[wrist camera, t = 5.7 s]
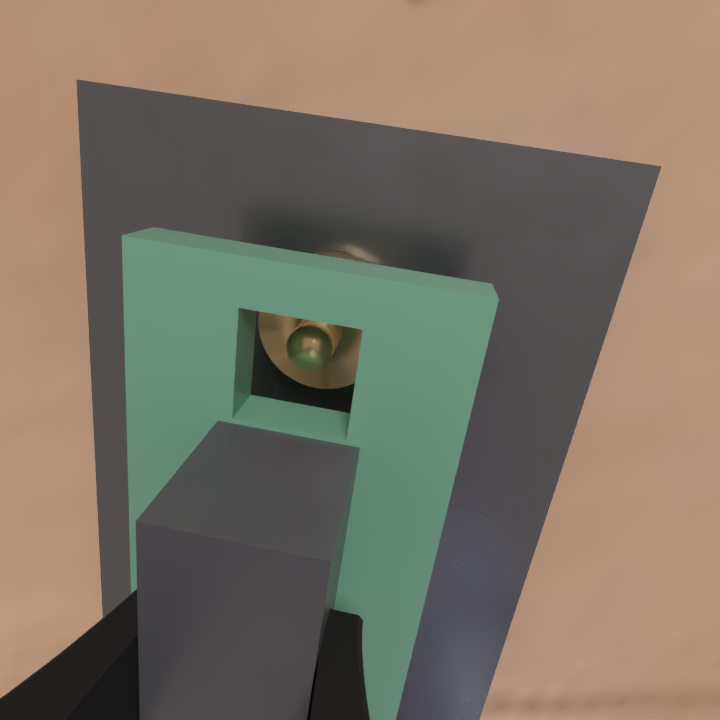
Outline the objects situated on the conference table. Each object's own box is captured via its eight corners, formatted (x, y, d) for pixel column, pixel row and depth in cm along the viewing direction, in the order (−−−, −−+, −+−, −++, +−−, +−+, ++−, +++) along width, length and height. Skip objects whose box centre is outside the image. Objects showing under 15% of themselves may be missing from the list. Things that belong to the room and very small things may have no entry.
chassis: (467, 694, 21) (476, 843, 17) (132, 620, 22) (53, 742, 18) (631, 165, 14) (729, 168, 9) (120, 89, 15) (-20, 58, 10)
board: (377, 767, 16) (357, 980, 12) (155, 715, 17) (61, 903, 12) (492, 283, 11) (530, 367, 6) (153, 227, 11) (-18, 270, 7)
